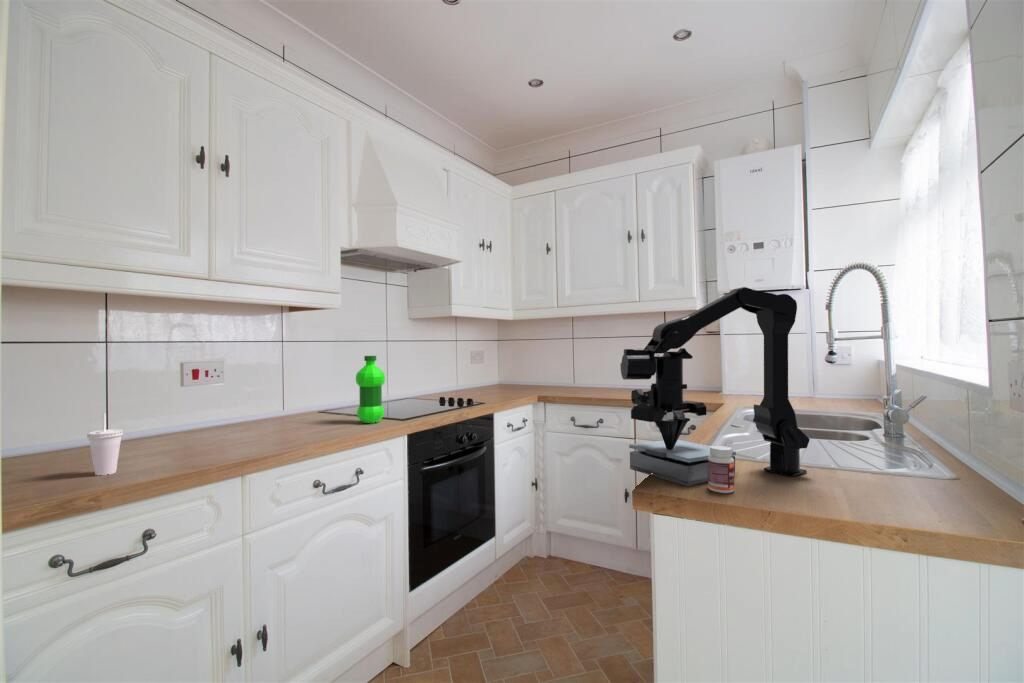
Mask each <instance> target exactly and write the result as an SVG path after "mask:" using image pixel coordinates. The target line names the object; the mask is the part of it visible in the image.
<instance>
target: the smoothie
mask: <svg viewBox="0 0 1024 683" xmlns="http://www.w3.org/2000/svg"><path fill="white" fill-rule="evenodd" d="M106 414H107V412H103V413H102V429H101V430H94V431H91V432H87V433H86V434H87V436H86V438H87V439H89V440H88V441H89V447H90V454H91V458H92V463H93V471H94V475H95V476H96V475H97V477H99V475H102V476H108V475H107V474H109V475H112V474H115V473H116V472H117V470H118V469H117V468H118V461H119V455H120V447H121V441H122V435H124V430H123V429H122V428H120V429H119V428H113V429H112V428H110V429H106V428H107V426H106V425H107V423H106V422H107V421H106V420H107V417H106V416H107V415H106Z"/></svg>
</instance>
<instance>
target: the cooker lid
mask: <svg viewBox="0 0 1024 683" xmlns="http://www.w3.org/2000/svg"><path fill="white" fill-rule="evenodd" d="M711 446H712V445H707V444H706V445H705V444H700V443H696V442H691V441H686V440H682V439H678V440H677V442H676V444H675V446H674V448H673V449H672V450H668V449H666V446H665V443H664V440H663V439H662V440H655V441H647V442H640V443H639V442H638V443H630V444H629V445H628V448H629V449H632V450H635V451H637V450H640V451H644V452H645V453H647V454H651V455H655V456H659V457H668V458H672V459H676V460H680V461H685V462H696V461H702V460H708V457H709V456H711V454H710V447H711ZM736 455H737V451H735V450H732V456H736Z"/></svg>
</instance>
